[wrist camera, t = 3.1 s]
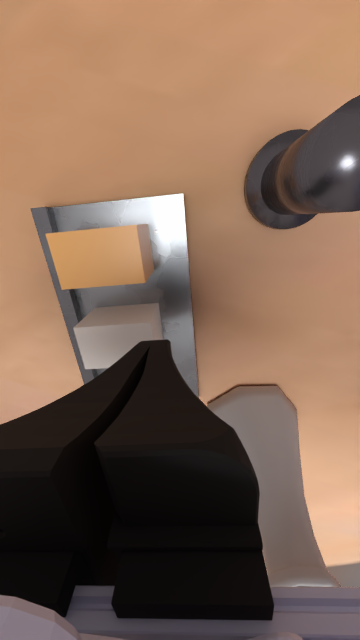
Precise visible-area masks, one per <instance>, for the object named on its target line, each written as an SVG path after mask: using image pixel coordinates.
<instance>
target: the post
mask: <svg viewBox="0 0 360 640" xmlns="http://www.w3.org/2000/svg"><path fill="white" fill-rule="evenodd" d="M244 191H245V200H246V203H247V206H248V209H249V211H250V212H251V214H252V215H253V217H254V218H255V219H256V220H257V221H259V222H260V223H261V224H263V225H265V226H267V227H271V228H277V229H289V228H294V227H297V226H300V225H302V224H304V223H306V222H308V221H309V220H311V219H312V218H313V217H314V216H315V215H317V214H318V213H334V212H353V211H359V210H360V95H359V96H357V97H355V98H353V99H351V100H350V101H348V102H347V103H345V104H344V105H343V106H341V107H340V108H339V109H337V110H336V111H335V112H333V113H332V114H331V115H329V116H328V117H327V118H325V119H324V120H323V121H321V122H320V123H319V124H317V125H316V126H315V127H313V128H312V129H310V130H309V131H308V130H302V129H299V130H291V131H287V132H284V133H282V134H280V135H278V136H276V137H275V138H273V139H272V140H270V141H269V142H268V143H267V144H266V145H265V146H264V147H263V148H262V149H261V150H260V151H259V152H258V153H257V155H256V156H255V157H254V159H253V161H252V162H251V164H250V167H249V169H248V172H247V175H246V179H245V187H244Z"/></svg>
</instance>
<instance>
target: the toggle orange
mask: <svg viewBox="0 0 360 640" xmlns="http://www.w3.org/2000/svg"><path fill="white" fill-rule="evenodd" d="M46 238H47V241H48V245H49V248H50V251H51V255H52V258H53V261H54V265H55V268H56V272H57V275H58V278H59V282H60V285H61V289H62V290H65V289H77V288H89V287H102V286H114V285H126V284H139V283H146V281H147V280H148V278H149V277H150V275H151V274H152V273H153V271H154V265H153V258H152V250H151V243H150V235H149V228H148V224H138V225H128V226H118V227H108V228H97V229H87V230H77V231H67V232H57V233H47V234H46Z"/></svg>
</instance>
